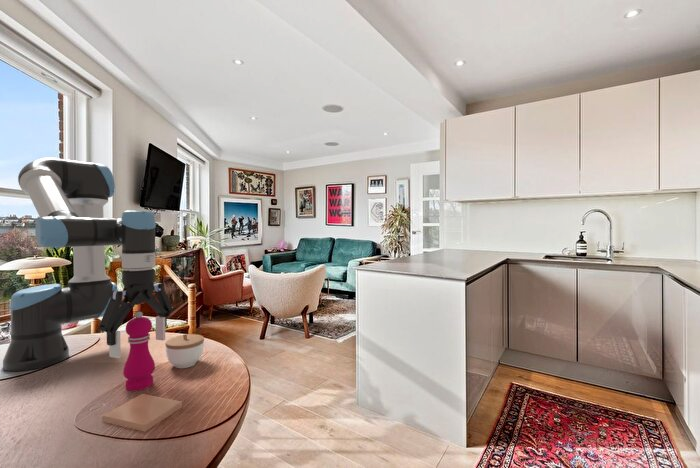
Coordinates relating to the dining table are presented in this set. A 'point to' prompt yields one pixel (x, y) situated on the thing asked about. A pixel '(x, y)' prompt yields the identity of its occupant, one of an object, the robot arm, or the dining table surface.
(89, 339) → the dining table surface
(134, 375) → the pepper mill
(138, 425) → the tile
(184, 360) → the lidded jar
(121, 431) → the dining table surface
